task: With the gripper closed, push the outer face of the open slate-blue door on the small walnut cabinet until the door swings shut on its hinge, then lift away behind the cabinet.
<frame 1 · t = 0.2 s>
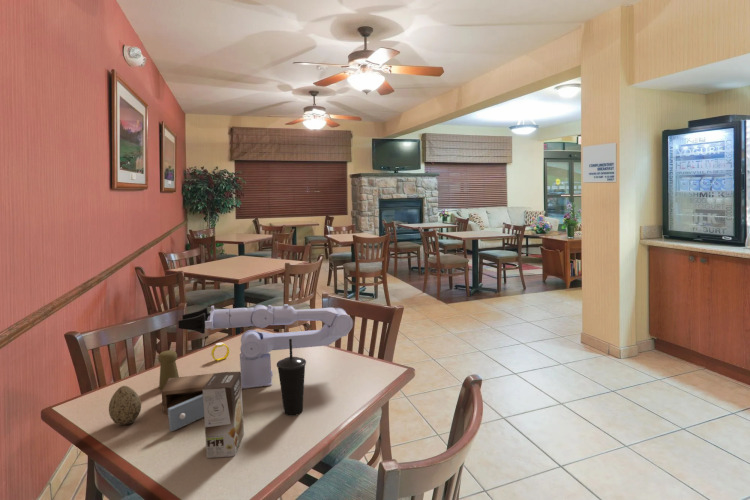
hand: (180, 321, 124), 22 cm above the table, tool horizontal, fingers open, 7 cm apart
coffee box: (226, 446, 98), on the table
cabinet: (197, 401, 120), on the table
drinking cup: (293, 412, 114), on the table
decorative egg: (126, 423, 109), on the table
watch: (220, 359, 152), on the table
cabinet door: (202, 407, 110), point 3 cm above the table, hinge at 40.0°
cork: (170, 386, 131), on the table
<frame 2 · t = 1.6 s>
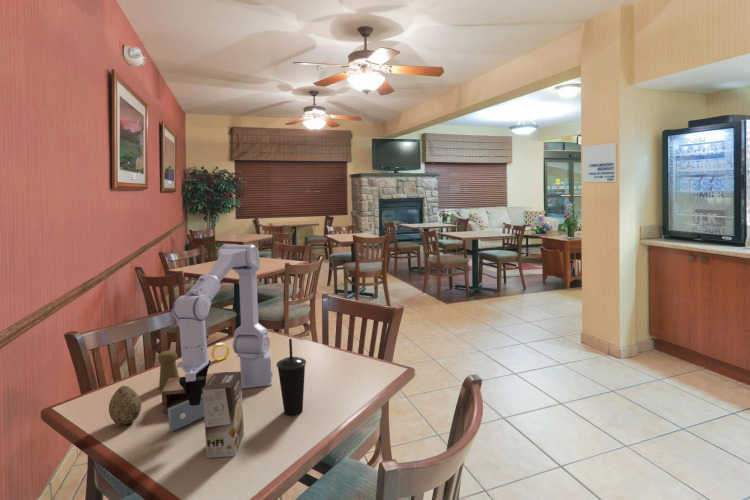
hand: (197, 397, 104), 8 cm above the table, tool pointing down, fingers open, 7 cm apart
nothing on the table moved.
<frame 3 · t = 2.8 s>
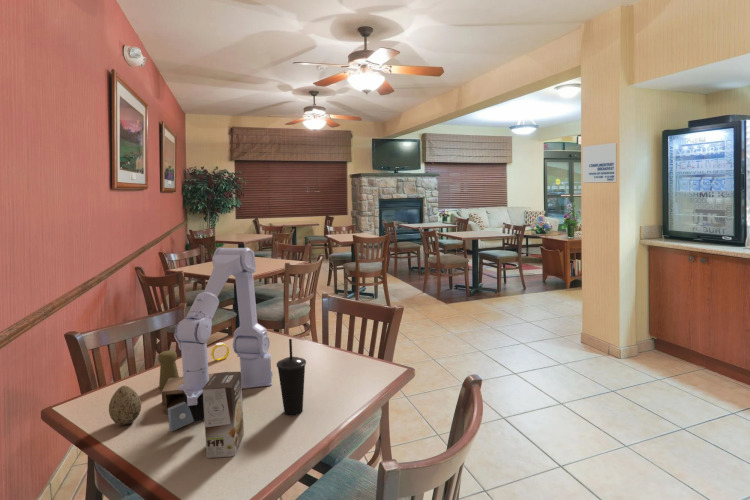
hand: (199, 420, 105), 3 cm above the table, tool pointing down, fingers closed
nothing on the table moved.
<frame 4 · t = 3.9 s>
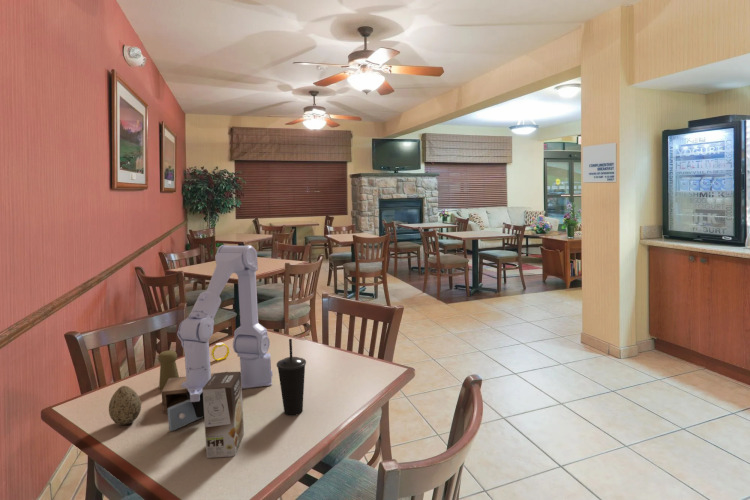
hand: (201, 416, 108), 2 cm above the table, tool pointing down, fingers closed
cabinet door: (202, 407, 110), point 3 cm above the table, hinge at 39.4°, touching gripper
everything else where it was.
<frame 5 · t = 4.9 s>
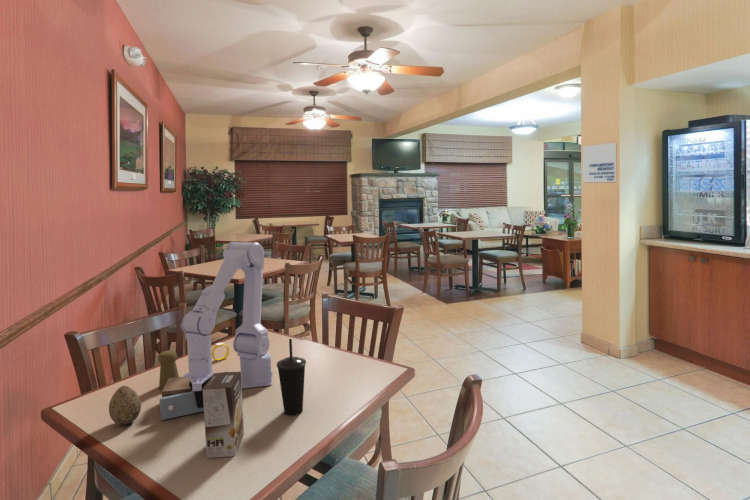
hand: (202, 406, 113), 2 cm above the table, tool pointing down, fingers closed, pressing on cabinet door
cabinet door: (195, 402, 113), point 3 cm above the table, hinge at 12.2°, touching gripper
everything else where it was.
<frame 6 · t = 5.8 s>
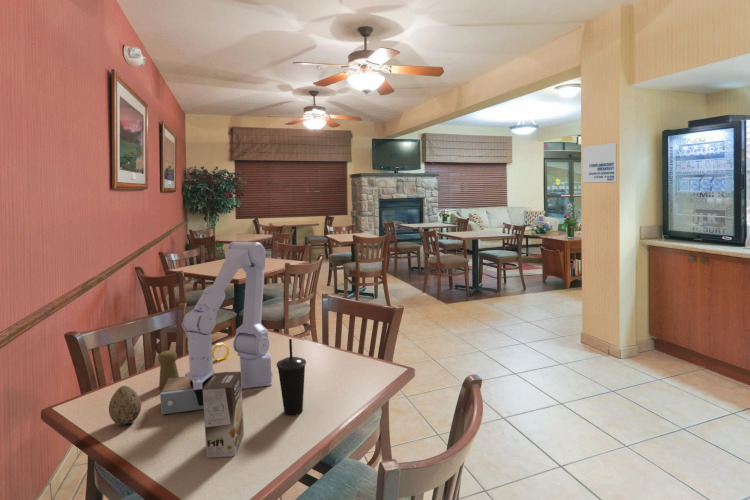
hand: (203, 404, 114), 2 cm above the table, tool pointing down, fingers closed
cabinet door: (194, 400, 114), point 3 cm above the table, hinge at 0.1°, touching gripper
everything else where it was.
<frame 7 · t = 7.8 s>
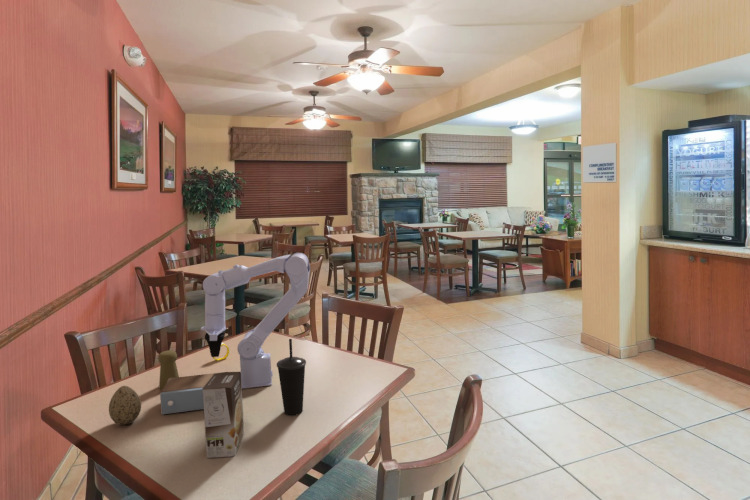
hand: (215, 356, 130), 9 cm above the table, tool pointing down, fingers closed
cabinet door: (194, 400, 114), point 3 cm above the table, hinge at 0.1°
everything else where it was.
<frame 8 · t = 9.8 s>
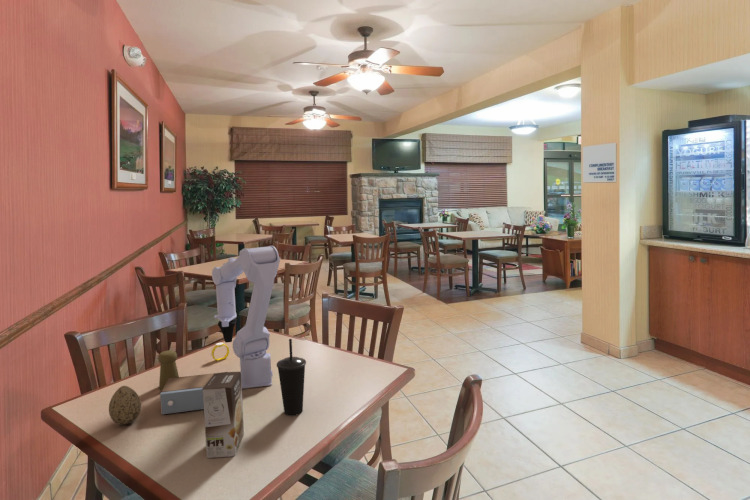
hand: (228, 341, 143), 9 cm above the table, tool pointing down, fingers closed
nothing on the table moved.
at the end: cabinet door at +0° (first picture: +40°) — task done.
